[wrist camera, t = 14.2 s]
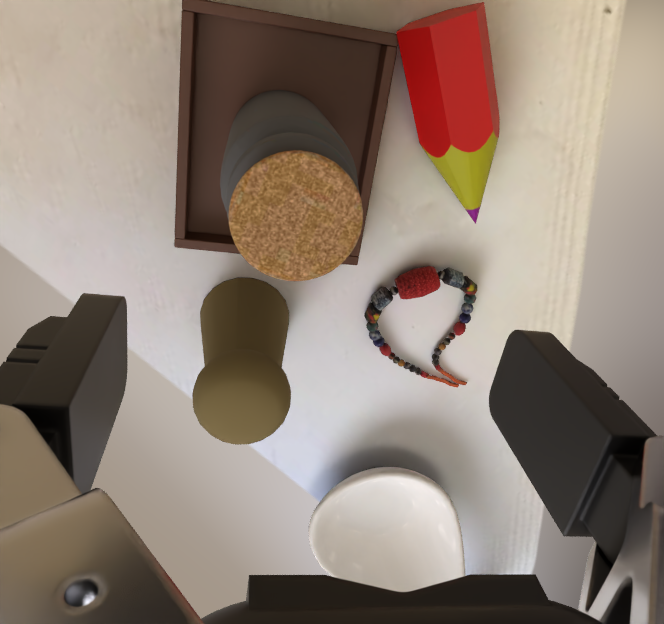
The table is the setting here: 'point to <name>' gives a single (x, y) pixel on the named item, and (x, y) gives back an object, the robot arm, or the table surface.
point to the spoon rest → (388, 531)
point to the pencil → (454, 96)
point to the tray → (261, 76)
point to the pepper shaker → (243, 362)
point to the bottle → (290, 188)
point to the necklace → (418, 286)
